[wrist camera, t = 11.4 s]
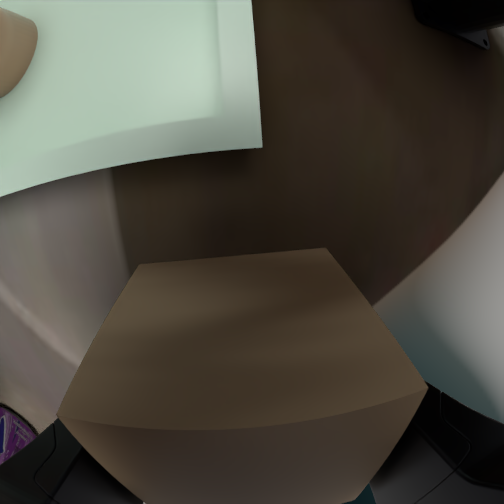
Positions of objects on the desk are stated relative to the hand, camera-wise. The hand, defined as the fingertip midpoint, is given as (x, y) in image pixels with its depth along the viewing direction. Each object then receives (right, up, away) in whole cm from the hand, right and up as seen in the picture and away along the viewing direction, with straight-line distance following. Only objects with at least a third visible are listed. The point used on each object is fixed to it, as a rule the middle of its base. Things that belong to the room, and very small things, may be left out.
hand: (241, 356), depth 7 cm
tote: (-9, +14, +1) cm, 17 cm away
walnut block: (0, 0, +1) cm, 1 cm away
